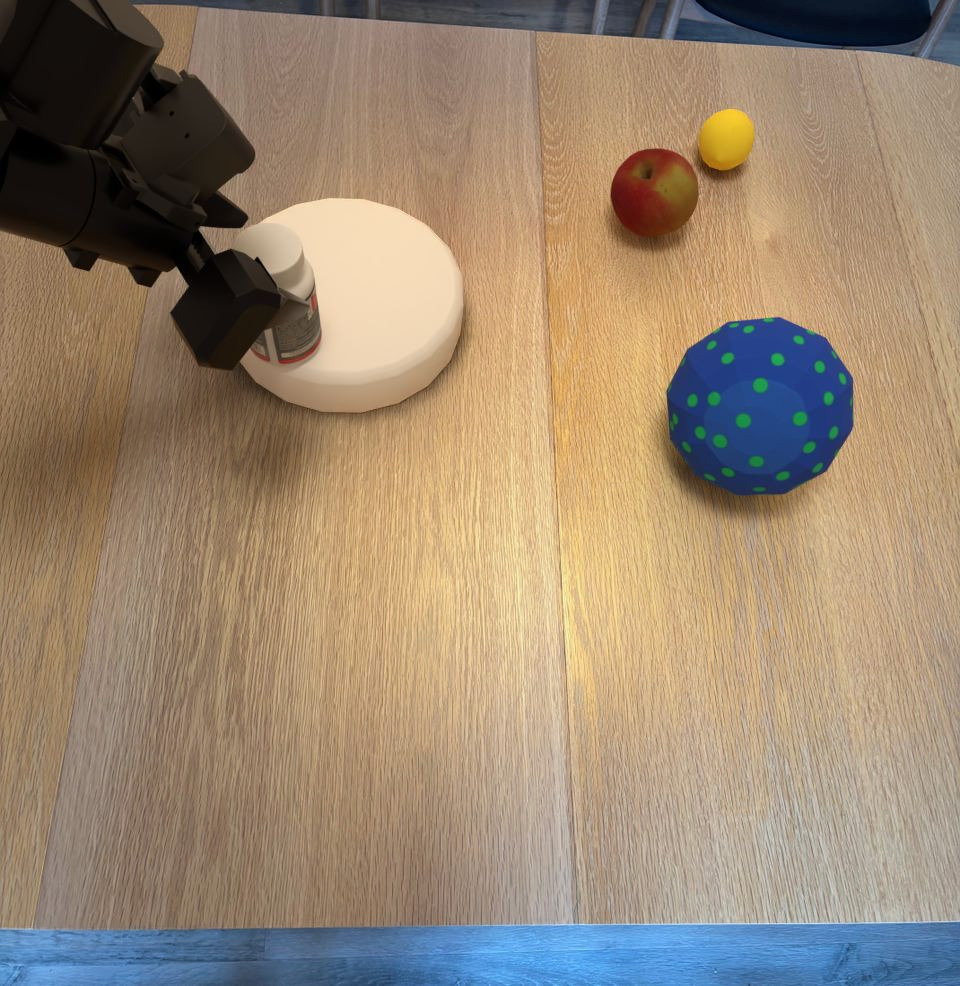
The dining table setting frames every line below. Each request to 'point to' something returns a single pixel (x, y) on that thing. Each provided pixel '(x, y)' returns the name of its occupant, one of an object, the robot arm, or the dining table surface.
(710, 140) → the lemon
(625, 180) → the apple
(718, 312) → the dining table surface
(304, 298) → the pill bottle
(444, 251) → the container
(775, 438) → the green-spotted blue ball
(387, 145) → the dining table surface
